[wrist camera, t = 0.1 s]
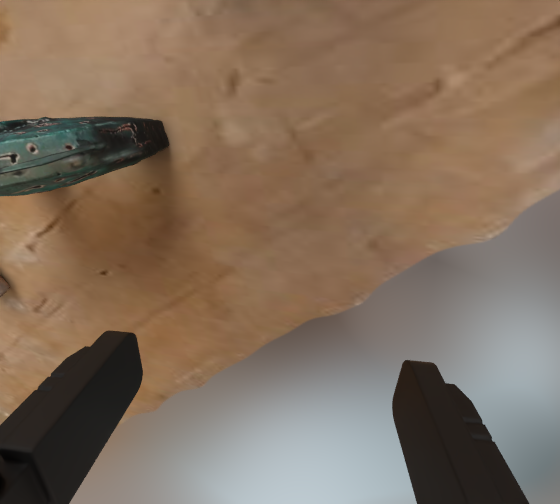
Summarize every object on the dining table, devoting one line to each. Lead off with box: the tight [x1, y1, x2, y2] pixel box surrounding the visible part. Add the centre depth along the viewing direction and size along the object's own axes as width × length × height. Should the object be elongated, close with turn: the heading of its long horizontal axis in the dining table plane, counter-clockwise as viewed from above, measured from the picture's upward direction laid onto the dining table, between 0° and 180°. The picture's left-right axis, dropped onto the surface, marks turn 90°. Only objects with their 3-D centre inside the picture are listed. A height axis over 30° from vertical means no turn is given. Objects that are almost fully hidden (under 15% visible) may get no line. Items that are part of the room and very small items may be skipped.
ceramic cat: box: [0, 117, 169, 196], centre depth 27 cm, size 20×6×20 cm, turn 102°
